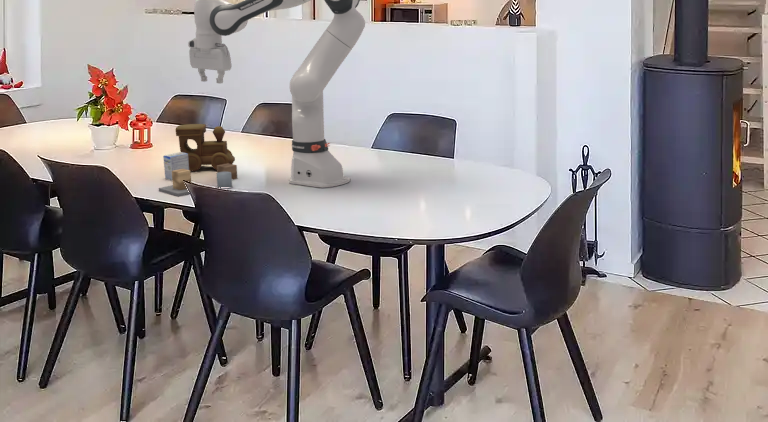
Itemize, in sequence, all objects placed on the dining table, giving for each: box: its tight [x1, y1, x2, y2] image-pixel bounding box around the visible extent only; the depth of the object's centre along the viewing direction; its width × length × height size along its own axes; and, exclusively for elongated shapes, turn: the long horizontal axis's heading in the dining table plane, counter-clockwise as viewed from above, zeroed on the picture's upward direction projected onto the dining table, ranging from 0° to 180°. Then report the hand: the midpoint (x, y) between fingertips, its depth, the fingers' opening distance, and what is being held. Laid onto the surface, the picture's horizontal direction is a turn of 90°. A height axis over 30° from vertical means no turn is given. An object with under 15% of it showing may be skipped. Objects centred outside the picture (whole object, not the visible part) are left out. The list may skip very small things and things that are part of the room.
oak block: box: [171, 169, 192, 190], centre depth 296 cm, size 4×4×6 cm
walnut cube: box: [216, 163, 238, 180], centre depth 313 cm, size 5×5×5 cm
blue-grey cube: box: [216, 172, 233, 188], centre depth 300 cm, size 5×5×5 cm
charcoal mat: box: [158, 184, 190, 197], centre depth 297 cm, size 12×11×1 cm
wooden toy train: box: [175, 123, 236, 173], centre depth 329 cm, size 20×11×17 cm, turn 92°
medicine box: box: [163, 151, 189, 181], centre depth 316 cm, size 8×4×9 cm, turn 141°
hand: (211, 82), depth 309 cm, fingers open, 8 cm apart
